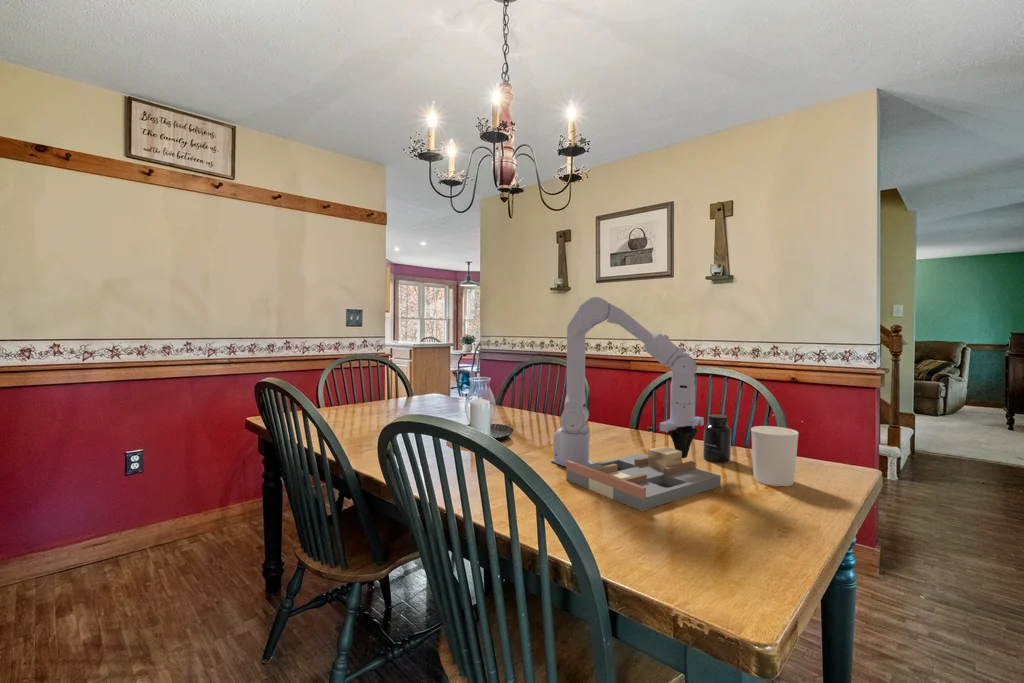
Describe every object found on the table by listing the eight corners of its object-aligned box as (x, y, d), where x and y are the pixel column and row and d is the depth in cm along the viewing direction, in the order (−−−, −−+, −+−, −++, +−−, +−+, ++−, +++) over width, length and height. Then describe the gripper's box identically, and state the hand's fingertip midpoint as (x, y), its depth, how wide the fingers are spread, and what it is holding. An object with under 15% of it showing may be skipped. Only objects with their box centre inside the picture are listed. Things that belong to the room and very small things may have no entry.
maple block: (647, 465, 117) (648, 449, 117) (662, 462, 120) (663, 446, 120) (666, 471, 112) (666, 454, 112) (681, 467, 115) (681, 451, 115)
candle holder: (806, 488, 108) (808, 435, 108) (762, 487, 108) (763, 435, 108) (783, 474, 118) (784, 425, 118) (742, 474, 118) (743, 425, 118)
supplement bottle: (704, 462, 129) (705, 417, 128) (702, 455, 135) (702, 412, 135) (732, 464, 127) (733, 418, 126) (728, 457, 133) (729, 414, 133)
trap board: (566, 479, 114) (566, 460, 114) (641, 462, 129) (641, 445, 128) (641, 511, 95) (641, 488, 95) (720, 486, 109) (720, 466, 109)
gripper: (677, 407, 112) (676, 465, 112) (714, 402, 120) (713, 456, 120) (652, 403, 118) (652, 458, 118) (690, 398, 126) (689, 449, 126)
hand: (681, 456), depth 120 cm, fingers closed
